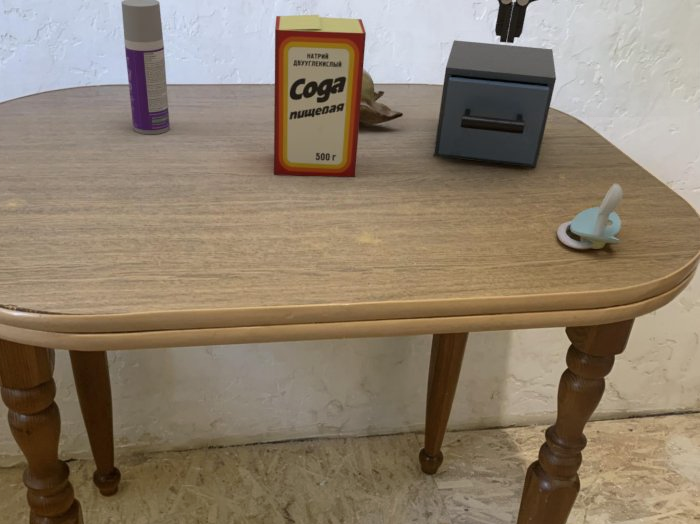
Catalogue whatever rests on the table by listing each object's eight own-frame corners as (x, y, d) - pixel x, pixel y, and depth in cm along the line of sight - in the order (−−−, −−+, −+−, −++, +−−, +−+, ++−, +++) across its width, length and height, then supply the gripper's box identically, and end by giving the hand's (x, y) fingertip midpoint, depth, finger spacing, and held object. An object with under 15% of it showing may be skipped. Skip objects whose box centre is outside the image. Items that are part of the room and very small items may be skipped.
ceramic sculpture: (282, 42, 103) (388, 48, 106) (277, 108, 108) (379, 111, 112) (297, 65, 95) (412, 70, 98) (291, 134, 100) (400, 137, 103)
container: (126, 127, 101) (112, 0, 92) (156, 120, 103) (146, -4, 94) (146, 137, 98) (134, 8, 89) (176, 129, 101) (168, 3, 91)
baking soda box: (351, 156, 95) (361, 15, 86) (354, 176, 90) (366, 29, 80) (275, 154, 95) (276, 12, 85) (273, 174, 90) (275, 26, 80)
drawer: (533, 178, 89) (550, 101, 84) (435, 167, 91) (445, 90, 86) (531, 131, 103) (546, 61, 97) (446, 122, 104) (456, 53, 99)
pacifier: (552, 251, 77) (615, 261, 75) (565, 191, 73) (631, 200, 72) (559, 222, 82) (618, 231, 81) (571, 165, 79) (633, 173, 77)
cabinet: (536, 167, 95) (556, 77, 88) (433, 155, 96) (445, 67, 90) (534, 131, 105) (552, 49, 99) (442, 121, 107) (453, 40, 101)
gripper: (469, -157, 71) (443, 43, 82) (617, -149, 69) (571, 55, 80) (473, -159, 77) (448, 28, 88) (610, -152, 75) (567, 38, 86)
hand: (506, 40), depth 84 cm, fingers closed
